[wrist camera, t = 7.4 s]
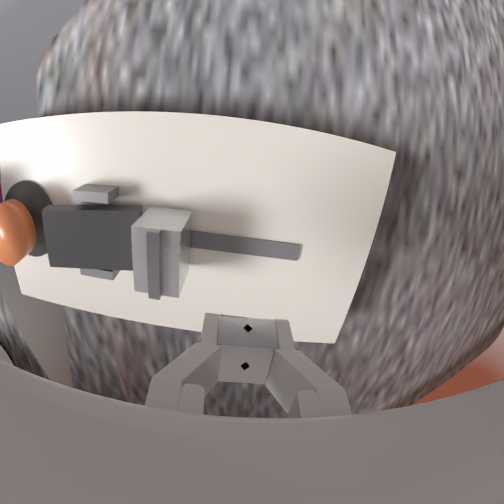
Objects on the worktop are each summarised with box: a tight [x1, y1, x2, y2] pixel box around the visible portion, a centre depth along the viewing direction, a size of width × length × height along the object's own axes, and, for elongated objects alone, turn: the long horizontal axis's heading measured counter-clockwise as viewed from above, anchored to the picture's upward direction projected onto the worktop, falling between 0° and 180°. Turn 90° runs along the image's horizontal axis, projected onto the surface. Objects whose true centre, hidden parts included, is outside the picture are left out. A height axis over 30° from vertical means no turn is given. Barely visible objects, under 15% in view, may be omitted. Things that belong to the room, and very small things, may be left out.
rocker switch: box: [42, 205, 142, 271], centre depth 15 cm, size 6×4×1 cm, turn 80°
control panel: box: [0, 111, 396, 343], centre depth 17 cm, size 26×14×6 cm, turn 82°
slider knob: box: [131, 207, 193, 300], centre depth 14 cm, size 2×4×3 cm, turn 172°
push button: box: [0, 199, 36, 266], centre depth 13 cm, size 4×4×2 cm
